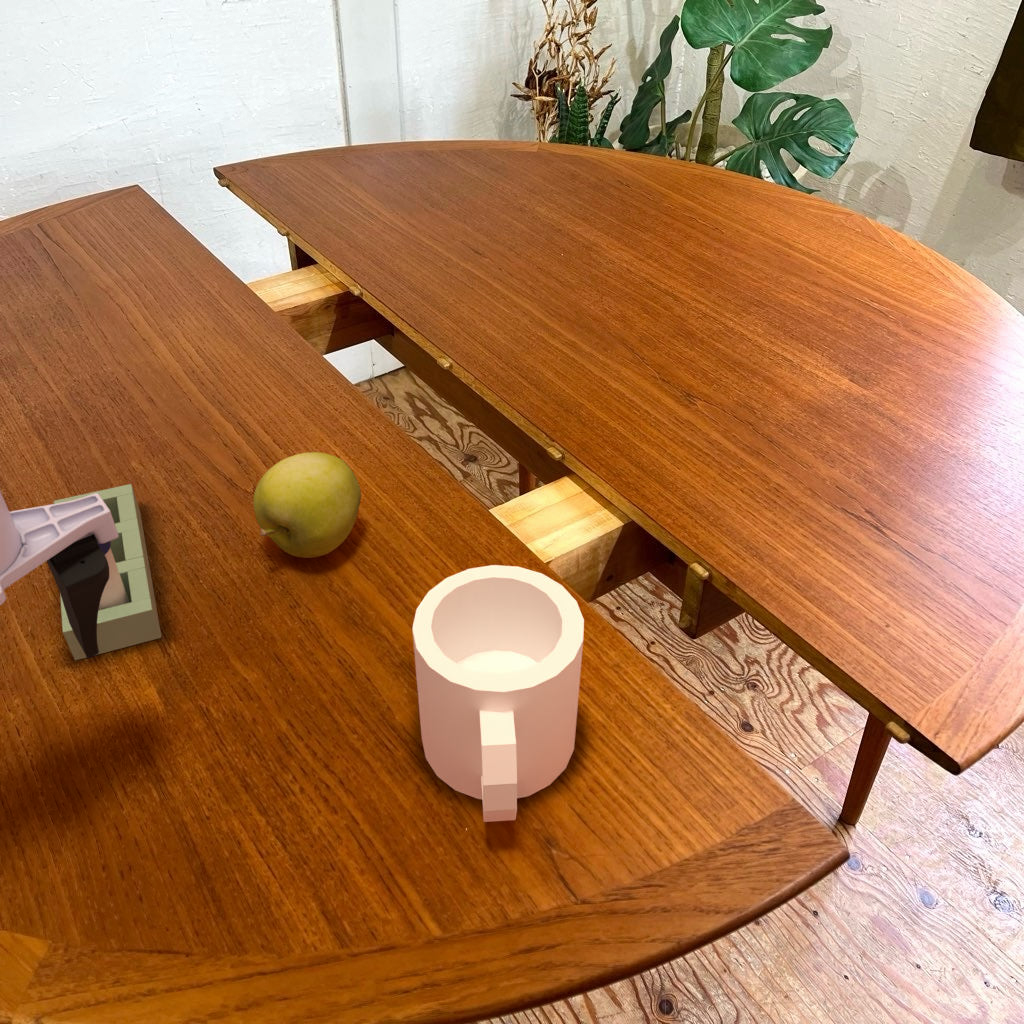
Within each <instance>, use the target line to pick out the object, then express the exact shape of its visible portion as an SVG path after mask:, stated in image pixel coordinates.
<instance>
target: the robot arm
mask: <svg viewBox="0 0 1024 1024" xmlns="http://www.w3.org/2000/svg"><path fill="white" fill-rule="evenodd" d="M118 537H119V535H118V532H117V529H116V527H115V524H114V521H113V518H112V515H111V512H110V510H109V508H108V507H107V505H106V504H105V503H104V501H103V500H102V498H101V497H100V495H99V494H98V493H94V494H92V495H89V496H86V497H83V498H79V499H75V500H72V501H67V502H62V503H57V504H54V503H51V504H46V505H40V506H34V507H30V508H24V509H17V510H12V511H10V510H9V508H8V505H7V503H6V501H5V499H4V495H3V494H2V491H1V490H0V606H1V605H4V603H5V602H6V600H7V595H6V593H5V590H6V589H7V588H8V587H10V586H11V585H13V584H15V583H16V582H18V581H19V580H20V579H23V577H25V576H26V575H28V574H30V573H31V572H33V571H34V570H35V569H37V568H38V567H40V566H41V565H43V564H44V563H47V565H48V568H49V570H50V573H51V575H52V577H53V579H54V582H55V584H56V586H57V588H58V591H59V595H60V594H61V597H62V600H63V604H64V607H65V610H66V614H67V617H68V620H69V623H70V625H71V628H72V630H73V632H74V634H75V637H76V639H77V640H78V642H79V644H80V646H81V648H82V649H83V651H84V653H85V655H86V657H87V658H86V659H91V658H92V657H94V655H95V656H97V655H96V654H98V653H99V650H98V644H97V618H98V610H99V605H100V601H101V597H102V594H103V591H104V588H105V586H106V584H107V582H108V580H109V564H108V561H107V559H106V557H105V555H104V553H103V552H102V550H101V549H100V547H99V544H98V543H101V544H103V543H106V542H108V541H111V540H113V539H116V538H118ZM98 655H99V654H98Z"/></svg>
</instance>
